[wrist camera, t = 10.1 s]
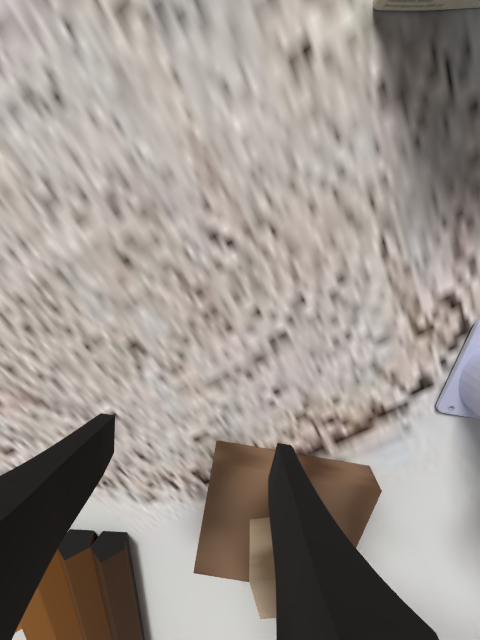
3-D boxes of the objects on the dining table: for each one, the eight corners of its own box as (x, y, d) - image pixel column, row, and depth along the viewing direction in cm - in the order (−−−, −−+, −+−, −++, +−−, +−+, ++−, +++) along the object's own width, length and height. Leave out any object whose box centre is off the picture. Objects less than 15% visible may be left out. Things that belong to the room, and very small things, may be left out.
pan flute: (153, 657, 38) (133, 527, 30) (144, 697, 35) (118, 564, 27) (-24, 644, 39) (-89, 515, 31) (-48, 682, 35) (-129, 549, 28)
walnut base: (369, 466, 25) (381, 491, 23) (327, 566, 30) (334, 595, 27) (216, 440, 25) (213, 463, 23) (198, 545, 29) (193, 573, 27)
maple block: (301, 514, 24) (311, 576, 20) (307, 549, 25) (318, 614, 21) (249, 519, 24) (249, 581, 20) (259, 553, 26) (260, 618, 22)
